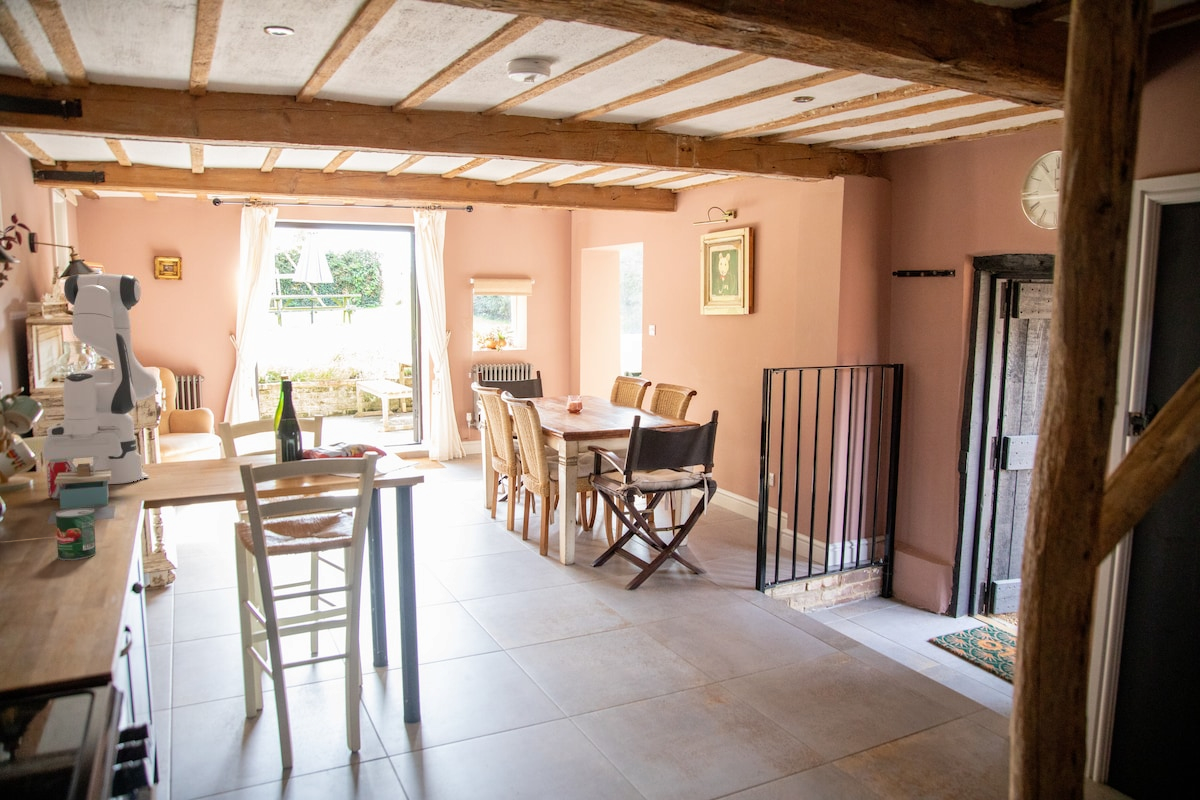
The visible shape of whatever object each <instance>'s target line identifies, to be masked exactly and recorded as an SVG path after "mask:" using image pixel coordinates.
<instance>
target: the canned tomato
mask: <svg viewBox="0 0 1200 800" xmlns="http://www.w3.org/2000/svg"><path fill="white" fill-rule="evenodd" d="M90 508H91V507H80V508H68V509H63V510H64V511H60V512H58V513H56V523H55V524H56V541H57V543H56V544H57V559H58V560H59V559H60V561H65V560H71V561H80V560H85V559H89V558H91V556H92V557H94V556H95V555H96V554H97V552H96V548H97V547H96V530H95V528H96V527H95V520H94V510H93V509H90ZM93 555H94V556H93ZM88 557H89V558H88ZM84 558H85V559H84ZM79 559H80V560H79Z"/></svg>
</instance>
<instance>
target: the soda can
mask: <svg viewBox="0 0 1200 800" xmlns="http://www.w3.org/2000/svg"><path fill="white" fill-rule="evenodd" d="M60 472H72V468H71V466H70V465H69V464H68V462H67V459H54V460H48V463H47V465H46V481H47V482H46V483H47V486H46V487H47V492H48V493H47V495H48V497H49V498H52V499H53V500H60V488H61V486H62V484H55V479H56V477H57V475H58V473H60Z"/></svg>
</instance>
